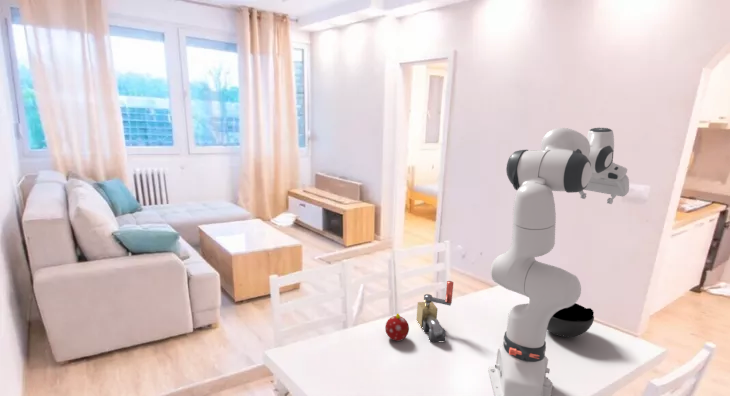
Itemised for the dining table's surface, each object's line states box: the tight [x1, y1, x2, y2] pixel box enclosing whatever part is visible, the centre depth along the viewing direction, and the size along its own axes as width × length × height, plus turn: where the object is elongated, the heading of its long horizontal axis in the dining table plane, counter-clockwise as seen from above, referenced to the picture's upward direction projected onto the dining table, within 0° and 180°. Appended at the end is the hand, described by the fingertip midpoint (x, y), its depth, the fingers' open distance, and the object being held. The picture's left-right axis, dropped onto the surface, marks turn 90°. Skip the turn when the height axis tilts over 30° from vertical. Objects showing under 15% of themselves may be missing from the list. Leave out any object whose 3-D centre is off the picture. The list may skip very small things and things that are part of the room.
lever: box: [423, 280, 454, 307], centre depth 146 cm, size 11×3×10 cm, turn 66°
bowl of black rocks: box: [547, 302, 595, 338], centre depth 146 cm, size 20×20×19 cm
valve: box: [416, 301, 447, 343], centre depth 144 cm, size 16×6×10 cm, turn 11°
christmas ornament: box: [384, 313, 410, 342], centre depth 138 cm, size 9×9×10 cm
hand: (596, 200), depth 148 cm, fingers open, 8 cm apart
